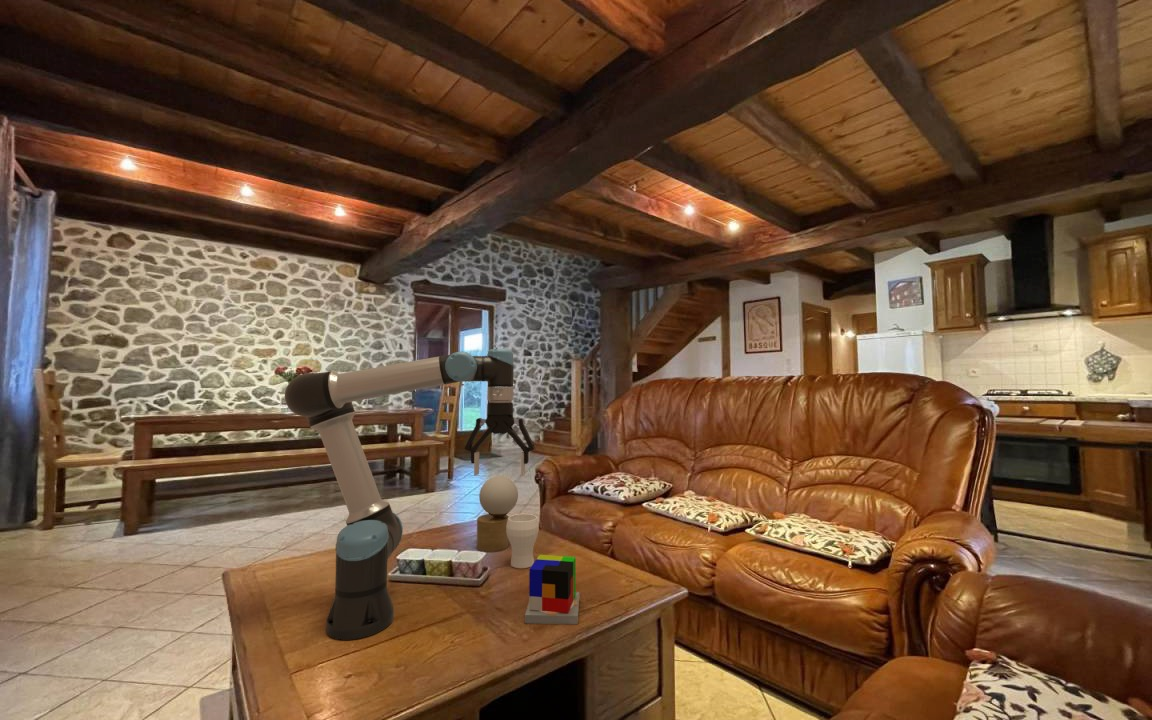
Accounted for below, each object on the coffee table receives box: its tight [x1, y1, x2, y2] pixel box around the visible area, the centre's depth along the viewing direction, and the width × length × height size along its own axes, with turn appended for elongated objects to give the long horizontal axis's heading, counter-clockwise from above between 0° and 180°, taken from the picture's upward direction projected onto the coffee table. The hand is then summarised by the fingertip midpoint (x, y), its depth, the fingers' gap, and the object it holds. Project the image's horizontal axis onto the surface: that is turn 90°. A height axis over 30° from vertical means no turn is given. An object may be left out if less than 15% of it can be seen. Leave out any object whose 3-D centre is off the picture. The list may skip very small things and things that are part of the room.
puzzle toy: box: [528, 554, 577, 613], centre depth 119 cm, size 10×10×10 cm
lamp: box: [476, 475, 519, 553], centre depth 168 cm, size 15×14×25 cm
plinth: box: [524, 591, 580, 625], centre depth 119 cm, size 13×13×2 cm
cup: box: [506, 513, 540, 569], centre depth 151 cm, size 11×11×15 cm
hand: (499, 475), depth 133 cm, fingers open, 13 cm apart
